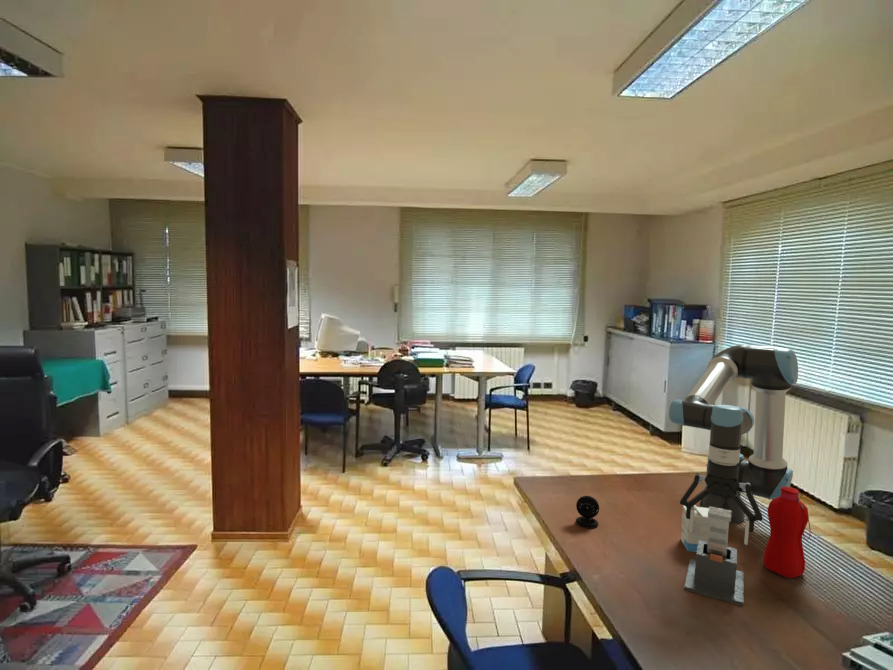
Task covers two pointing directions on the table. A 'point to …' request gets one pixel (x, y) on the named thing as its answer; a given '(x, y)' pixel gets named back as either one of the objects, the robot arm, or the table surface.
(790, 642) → the table surface
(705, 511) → the ink box
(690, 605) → the table surface
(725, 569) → the stand base
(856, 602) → the table surface
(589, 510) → the webcam
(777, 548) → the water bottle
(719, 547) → the column
